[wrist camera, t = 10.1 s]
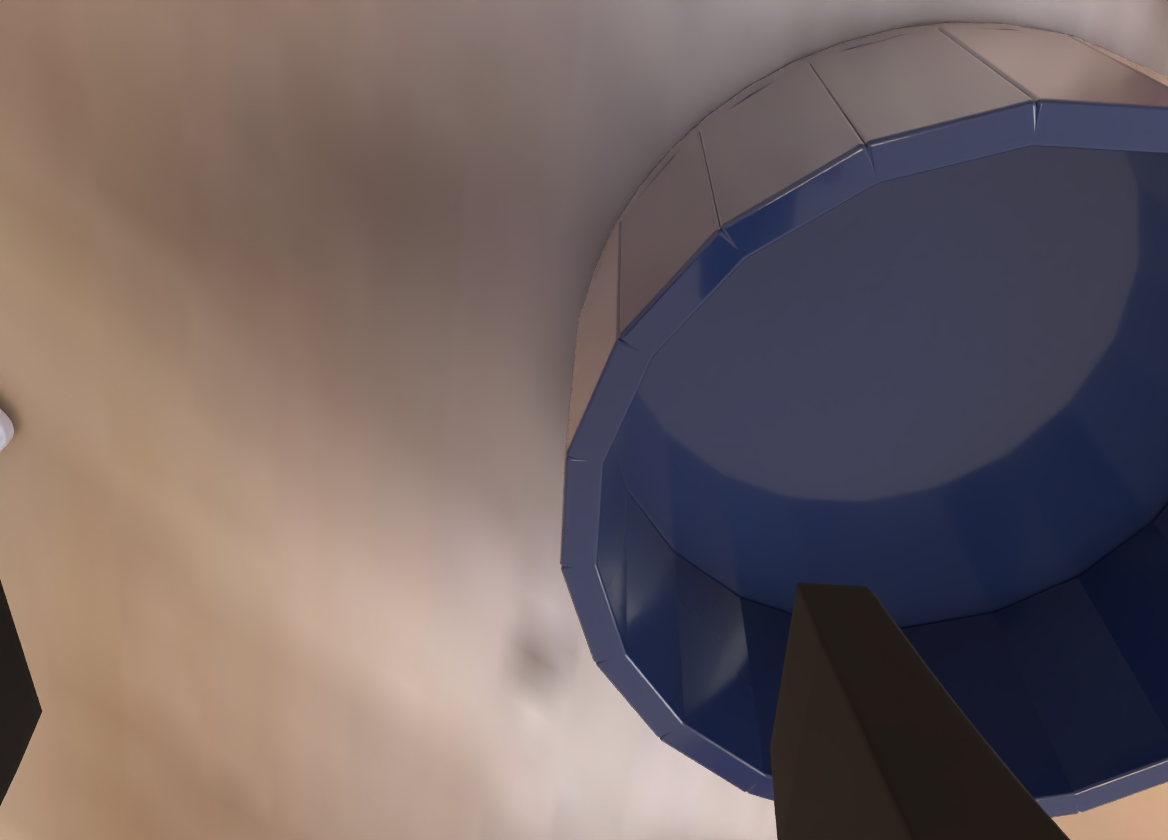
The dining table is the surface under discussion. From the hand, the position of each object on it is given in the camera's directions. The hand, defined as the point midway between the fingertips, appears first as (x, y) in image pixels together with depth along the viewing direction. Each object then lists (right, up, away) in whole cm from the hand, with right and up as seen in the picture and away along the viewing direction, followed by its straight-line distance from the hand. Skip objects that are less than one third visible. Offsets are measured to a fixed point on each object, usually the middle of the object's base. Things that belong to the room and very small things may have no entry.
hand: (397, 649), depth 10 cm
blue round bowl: (+8, +3, +10) cm, 13 cm away
